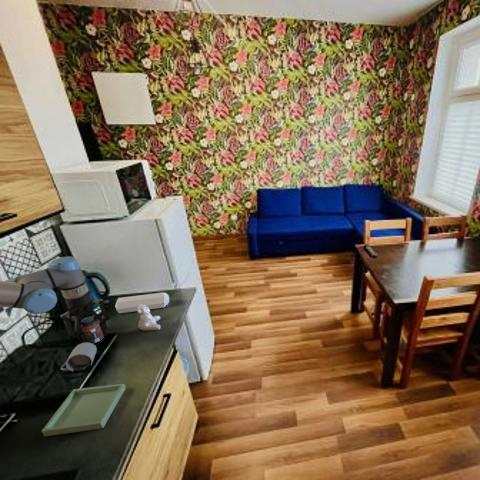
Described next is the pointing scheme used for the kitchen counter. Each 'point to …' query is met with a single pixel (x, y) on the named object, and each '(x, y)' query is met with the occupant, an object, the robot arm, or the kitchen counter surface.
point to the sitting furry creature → (147, 319)
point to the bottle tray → (85, 410)
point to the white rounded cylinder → (142, 302)
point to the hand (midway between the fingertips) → (95, 340)
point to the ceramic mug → (80, 356)
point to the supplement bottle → (91, 330)
